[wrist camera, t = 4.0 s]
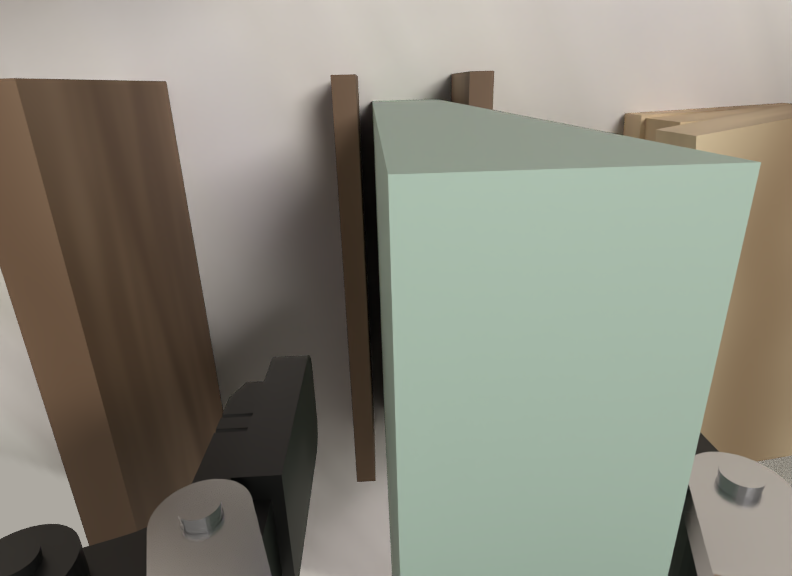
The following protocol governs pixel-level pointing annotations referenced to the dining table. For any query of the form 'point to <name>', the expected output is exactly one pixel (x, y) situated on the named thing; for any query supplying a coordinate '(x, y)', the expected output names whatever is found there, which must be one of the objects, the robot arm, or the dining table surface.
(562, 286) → the sage sheet
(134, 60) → the dining table surface
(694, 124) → the offcut top
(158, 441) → the walnut rack
